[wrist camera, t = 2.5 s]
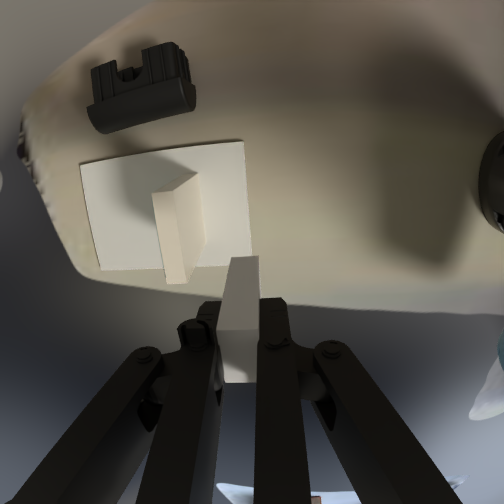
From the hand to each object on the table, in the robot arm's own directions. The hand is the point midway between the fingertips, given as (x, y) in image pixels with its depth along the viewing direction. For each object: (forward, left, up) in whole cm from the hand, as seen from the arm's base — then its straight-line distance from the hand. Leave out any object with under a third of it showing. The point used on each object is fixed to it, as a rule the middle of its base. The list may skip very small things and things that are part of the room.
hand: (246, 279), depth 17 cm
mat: (+11, 0, -18) cm, 21 cm away
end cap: (+10, -14, -19) cm, 25 cm away
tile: (+7, 0, -13) cm, 14 cm away
